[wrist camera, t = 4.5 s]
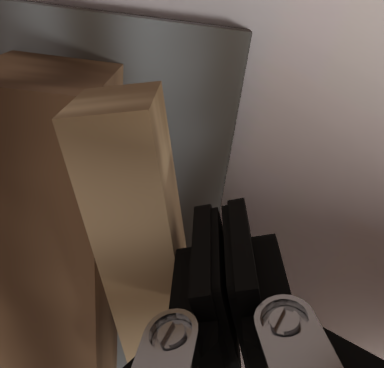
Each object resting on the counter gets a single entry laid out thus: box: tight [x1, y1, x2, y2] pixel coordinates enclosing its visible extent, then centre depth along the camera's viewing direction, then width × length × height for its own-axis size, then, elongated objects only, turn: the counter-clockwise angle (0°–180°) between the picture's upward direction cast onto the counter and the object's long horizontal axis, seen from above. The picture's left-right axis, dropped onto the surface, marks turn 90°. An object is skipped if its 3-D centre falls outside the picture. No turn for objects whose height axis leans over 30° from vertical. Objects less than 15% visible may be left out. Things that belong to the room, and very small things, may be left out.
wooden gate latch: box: [0, 0, 252, 368], centre depth 20 cm, size 16×28×9 cm, turn 173°
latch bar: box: [52, 81, 186, 363], centre depth 14 cm, size 15×4×3 cm, turn 6°
